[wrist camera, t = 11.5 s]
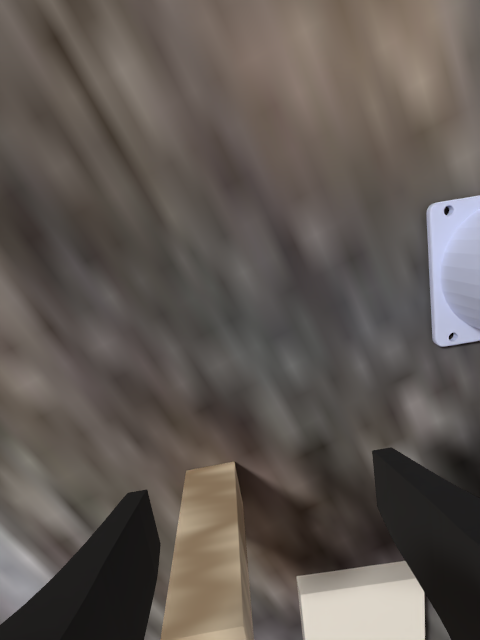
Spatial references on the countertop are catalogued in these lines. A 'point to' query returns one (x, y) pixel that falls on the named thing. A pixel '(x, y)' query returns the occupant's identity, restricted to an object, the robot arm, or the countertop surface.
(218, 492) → the stick
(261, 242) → the countertop surface
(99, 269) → the countertop surface
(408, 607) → the tile
